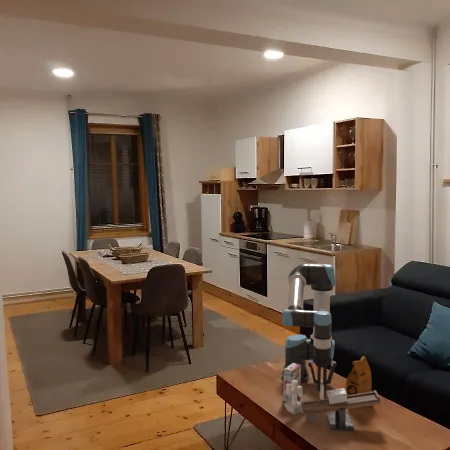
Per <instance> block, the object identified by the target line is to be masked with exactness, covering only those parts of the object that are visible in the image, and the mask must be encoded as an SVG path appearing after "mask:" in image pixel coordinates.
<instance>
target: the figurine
mask: <svg viewBox="0 0 450 450" xmlns="http://www.w3.org/2000/svg"><path fill="white" fill-rule="evenodd" d="M291 386H292V387H291V388H290V384H289V383H287V384H286V394H287V395H292V397H291V401H288V402H283V406H285V409H286V410H287V412H289V413H291V414H293V415H297V414H300V413H302V412H303V411H302V407H301V401H299V400H298V398H303V396H304V394H303V393H304V389H303V386H302V385H301V386H298V381H297V380H292V381H291ZM297 394H298V395H299V397H298V398H297Z"/></svg>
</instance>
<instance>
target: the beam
mask: <svg viewBox="0 0 450 450" xmlns="http://www.w3.org/2000/svg"><path fill="white" fill-rule="evenodd" d="M347 400H348V403H345V404H338V405H331V406H330V405H329V402H328V398H324V400H320V399H315V400H308V401H302V400H301V401H300V402H301V407H302V411H301V412H302V415H303V416H304V417H305V419H306V422H309V421H311V422H312V421H316V419H317V418H316V414H324V413H331V412H335V411H338V410H339V408H345V410H349V409H351V410H352V409H359V408H358V407H362V408H363V407H364V408H365V407H370V406H377V405H381V404H382V402H381V398H380V395H379V393H378V392H377V390H373V391H371V392H368V393H361V394H354V395H348V396H347Z"/></svg>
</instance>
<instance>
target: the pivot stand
mask: <svg viewBox="0 0 450 450" xmlns="http://www.w3.org/2000/svg"><path fill="white" fill-rule="evenodd" d="M325 413H326V414H325V415H326V419H327V422H328V425H329V428H330V431H332V432H355V430H356V428H355V426H354V424H353V421H352V420H351V416H350V413H347V409H345V408H339V410H338V411H334V412H333V413H331V412H325Z"/></svg>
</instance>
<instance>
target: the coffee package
mask: <svg viewBox="0 0 450 450" xmlns="http://www.w3.org/2000/svg"><path fill="white" fill-rule="evenodd" d="M351 364H352V365H353V367H352V369H351V372H349V374H348V376H347V378H346V380H345V391H346V394H347V396H348V395H354V394H361V393H368V392H372V384H373V383H372V371H371V368H370V365H369V363H368V361H367V358H366V356H365V355H364V356H361V358H360V360H355V361H354V360H353V361H352V362H351ZM362 408H363V407H358V408H357V409H362Z"/></svg>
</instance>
